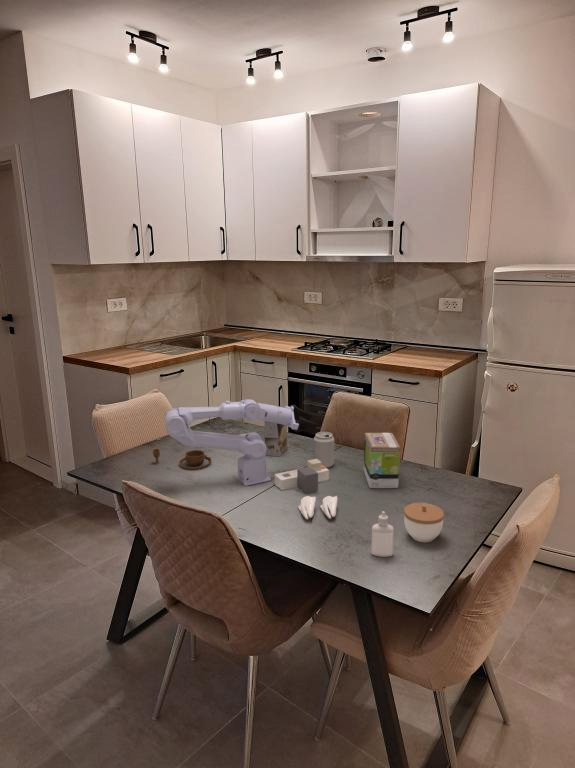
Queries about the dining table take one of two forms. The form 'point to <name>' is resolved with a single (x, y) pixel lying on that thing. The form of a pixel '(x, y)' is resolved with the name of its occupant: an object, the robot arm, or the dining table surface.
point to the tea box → (381, 460)
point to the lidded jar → (423, 521)
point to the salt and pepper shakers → (328, 502)
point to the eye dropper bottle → (382, 537)
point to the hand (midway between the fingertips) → (313, 421)
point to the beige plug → (314, 464)
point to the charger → (307, 480)
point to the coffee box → (275, 438)
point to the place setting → (189, 459)
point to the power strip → (290, 478)
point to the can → (324, 448)
